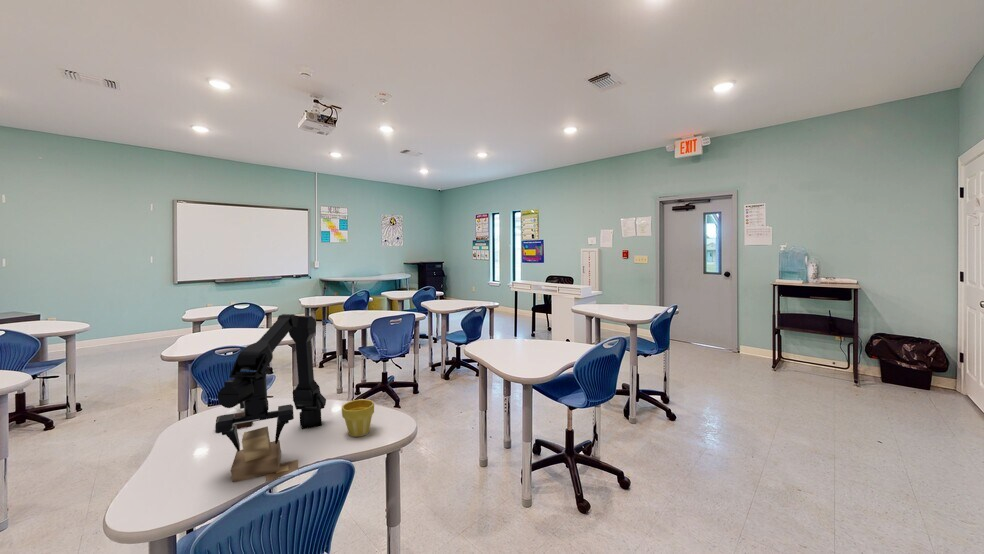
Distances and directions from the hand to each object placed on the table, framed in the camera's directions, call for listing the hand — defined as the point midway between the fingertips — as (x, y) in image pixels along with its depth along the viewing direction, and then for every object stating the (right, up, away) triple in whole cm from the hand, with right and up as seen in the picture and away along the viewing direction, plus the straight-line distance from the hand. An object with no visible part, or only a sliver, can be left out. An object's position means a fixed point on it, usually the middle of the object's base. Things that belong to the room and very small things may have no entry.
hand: (257, 447), depth 113 cm
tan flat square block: (0, -6, 0) cm, 6 cm away
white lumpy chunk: (-25, -4, +34) cm, 42 cm away
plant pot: (+21, -5, +23) cm, 31 cm away
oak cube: (0, -2, 0) cm, 2 cm away
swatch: (+8, -7, -1) cm, 10 cm away
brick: (-24, -5, +27) cm, 36 cm away
